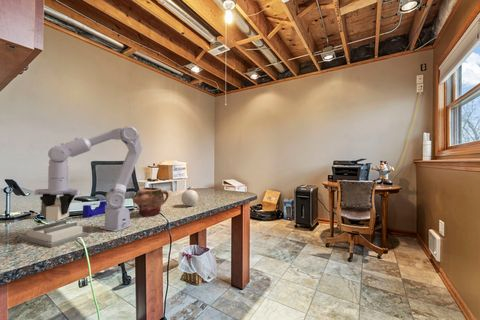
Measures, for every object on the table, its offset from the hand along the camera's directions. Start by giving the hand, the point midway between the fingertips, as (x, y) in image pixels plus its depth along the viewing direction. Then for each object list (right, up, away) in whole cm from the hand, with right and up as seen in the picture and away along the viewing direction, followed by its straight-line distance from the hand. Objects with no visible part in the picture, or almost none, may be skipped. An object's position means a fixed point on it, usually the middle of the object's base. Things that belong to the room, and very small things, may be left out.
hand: (57, 213), depth 81 cm
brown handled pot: (+22, -9, +35) cm, 42 cm away
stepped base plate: (0, -8, -1) cm, 9 cm away
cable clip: (-7, -8, +31) cm, 33 cm away
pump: (0, -2, 0) cm, 2 cm away
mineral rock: (-25, -8, +28) cm, 38 cm away
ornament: (+37, -9, +55) cm, 67 cm away
